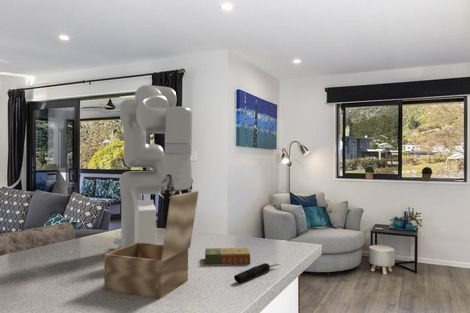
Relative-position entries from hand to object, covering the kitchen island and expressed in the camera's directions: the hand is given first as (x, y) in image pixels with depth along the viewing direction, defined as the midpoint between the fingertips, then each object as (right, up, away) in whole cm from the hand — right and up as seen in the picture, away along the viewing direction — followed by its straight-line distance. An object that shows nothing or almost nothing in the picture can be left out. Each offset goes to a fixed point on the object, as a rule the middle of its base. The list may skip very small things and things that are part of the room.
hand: (177, 210), depth 106 cm
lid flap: (+1, -4, 0) cm, 4 cm away
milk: (-16, -22, +26) cm, 38 cm away
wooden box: (-9, -22, +3) cm, 24 cm away
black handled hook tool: (+24, -23, +13) cm, 36 cm away
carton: (+14, -23, +29) cm, 39 cm away
